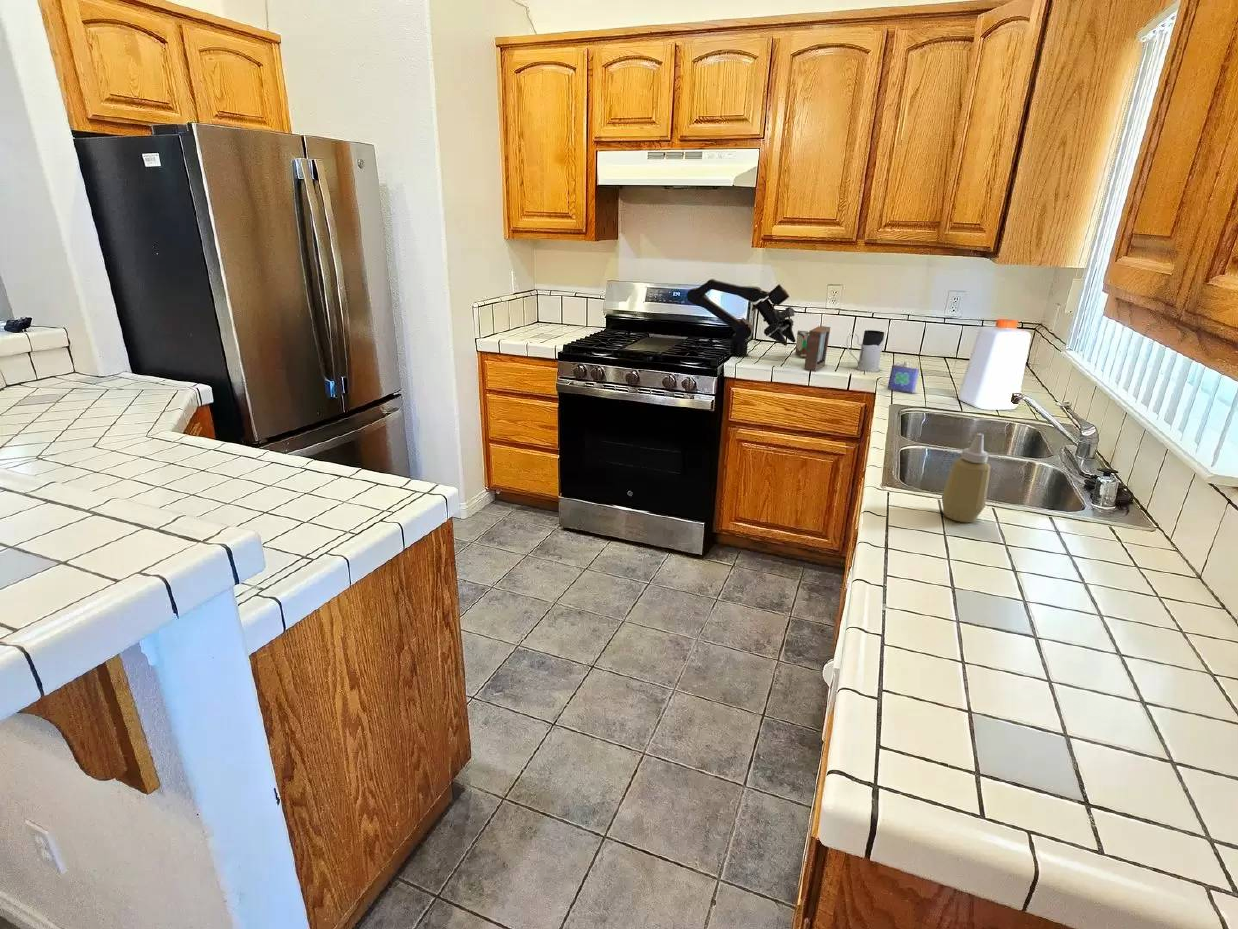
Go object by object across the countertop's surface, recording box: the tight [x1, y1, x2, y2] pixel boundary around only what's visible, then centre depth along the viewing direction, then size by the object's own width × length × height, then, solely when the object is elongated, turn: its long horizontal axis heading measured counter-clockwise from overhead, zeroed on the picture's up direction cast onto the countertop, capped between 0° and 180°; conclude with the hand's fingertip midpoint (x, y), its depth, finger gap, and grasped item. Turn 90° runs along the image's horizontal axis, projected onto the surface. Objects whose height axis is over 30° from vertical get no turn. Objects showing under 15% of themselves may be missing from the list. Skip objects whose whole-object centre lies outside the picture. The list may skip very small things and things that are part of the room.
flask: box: [887, 360, 920, 394], centre depth 228 cm, size 9×3×11 cm, turn 51°
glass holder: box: [846, 329, 885, 373], centre depth 260 cm, size 9×14×15 cm, turn 77°
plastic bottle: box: [957, 318, 1032, 411], centre depth 213 cm, size 15×15×28 cm
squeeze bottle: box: [941, 432, 991, 523], centre depth 130 cm, size 8×8×18 cm
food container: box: [794, 329, 810, 359], centre depth 280 cm, size 12×6×10 cm, turn 179°
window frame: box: [803, 325, 831, 372], centre depth 259 cm, size 15×4×15 cm, turn 149°
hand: (790, 343), depth 265 cm, fingers open, 9 cm apart
